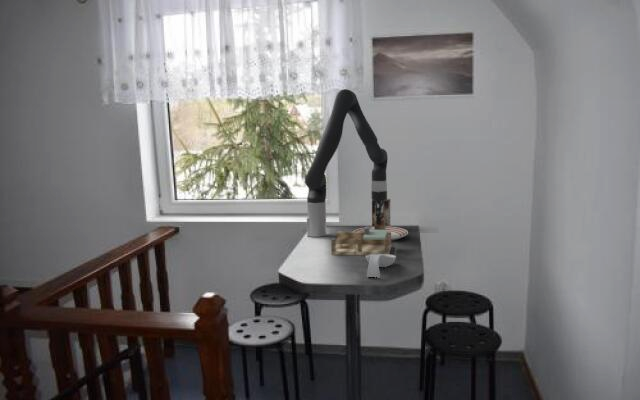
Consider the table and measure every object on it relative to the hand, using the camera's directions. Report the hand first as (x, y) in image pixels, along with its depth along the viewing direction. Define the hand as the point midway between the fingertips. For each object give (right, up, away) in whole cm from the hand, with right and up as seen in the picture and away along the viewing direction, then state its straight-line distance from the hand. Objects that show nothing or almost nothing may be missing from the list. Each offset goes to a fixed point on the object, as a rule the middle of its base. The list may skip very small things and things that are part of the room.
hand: (379, 222), depth 243 cm
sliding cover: (-5, -4, -29) cm, 30 cm away
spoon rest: (-7, -16, -55) cm, 58 cm away
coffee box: (+3, -5, +21) cm, 21 cm away
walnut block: (0, -4, +1) cm, 4 cm away
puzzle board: (-11, -11, -27) cm, 31 cm away
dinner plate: (0, -8, +1) cm, 8 cm away
